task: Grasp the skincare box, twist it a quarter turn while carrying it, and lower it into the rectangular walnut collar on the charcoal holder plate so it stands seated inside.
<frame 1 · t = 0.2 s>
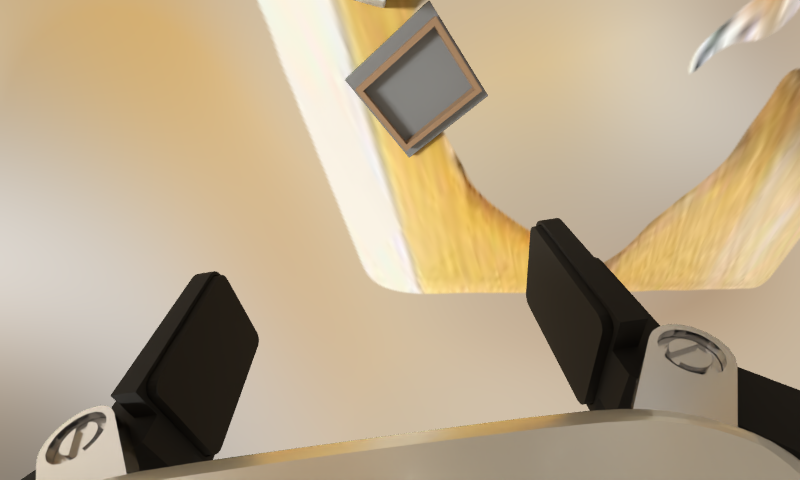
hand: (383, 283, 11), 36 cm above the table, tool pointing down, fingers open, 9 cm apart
holder: (417, 86, 42), on the table
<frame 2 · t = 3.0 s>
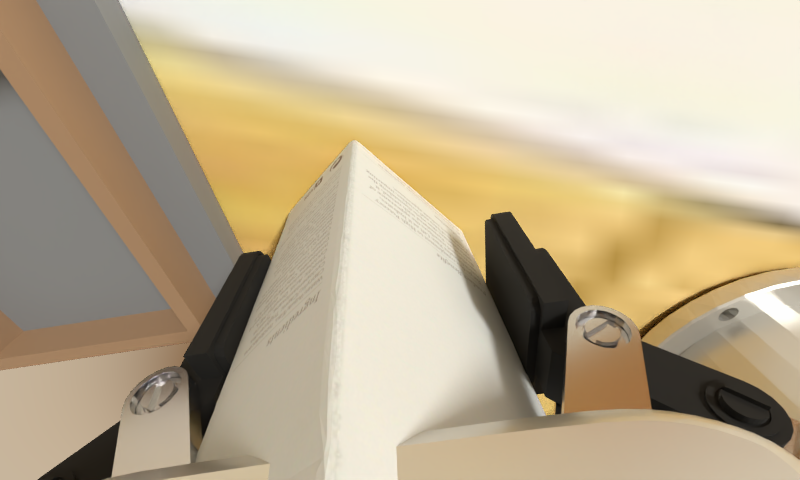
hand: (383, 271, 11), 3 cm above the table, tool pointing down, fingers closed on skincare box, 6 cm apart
skincare box: (383, 218, 14), on the table, touching gripper
holder: (48, 202, 13), on the table
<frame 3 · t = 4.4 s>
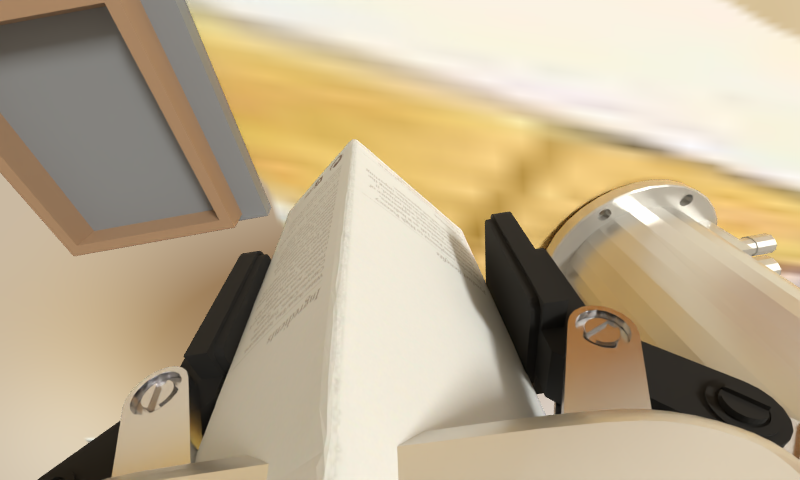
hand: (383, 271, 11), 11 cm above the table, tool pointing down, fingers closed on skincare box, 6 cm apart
skincare box: (383, 217, 14), point 7 cm above the table, touching gripper
holder: (118, 129, 18), on the table
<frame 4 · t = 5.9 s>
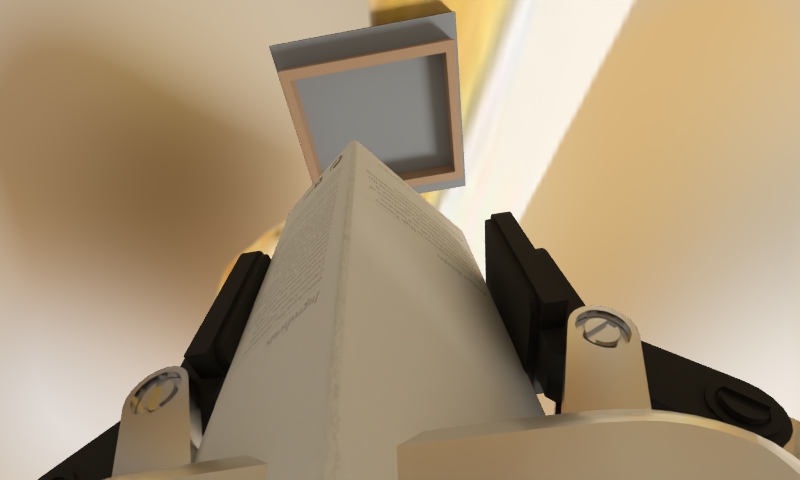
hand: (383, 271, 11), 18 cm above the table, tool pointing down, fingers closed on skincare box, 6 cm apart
skincare box: (383, 218, 14), point 14 cm above the table, touching gripper
holder: (379, 120, 26), on the table
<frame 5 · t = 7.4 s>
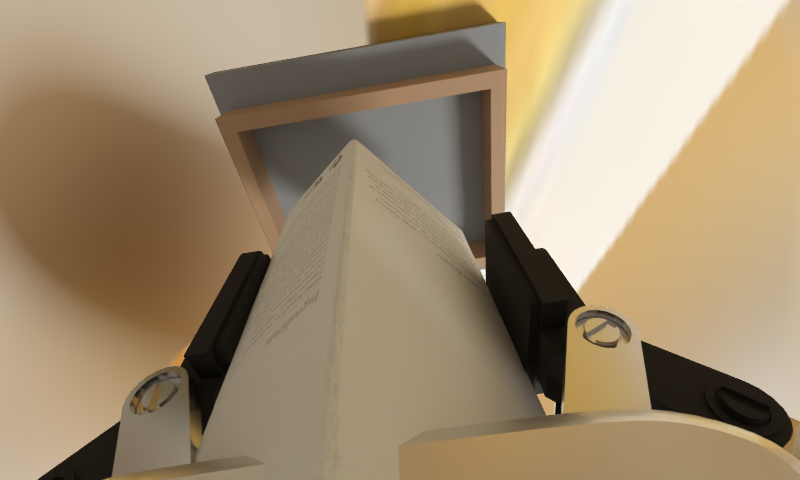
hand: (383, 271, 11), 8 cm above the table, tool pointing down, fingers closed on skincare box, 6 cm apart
skincare box: (383, 218, 14), point 4 cm above the table, touching gripper
holder: (380, 180, 18), on the table
when the fingers open (5 cm above the table, at t = 8.7 s): skincare box drops 1 cm, resting on holder.
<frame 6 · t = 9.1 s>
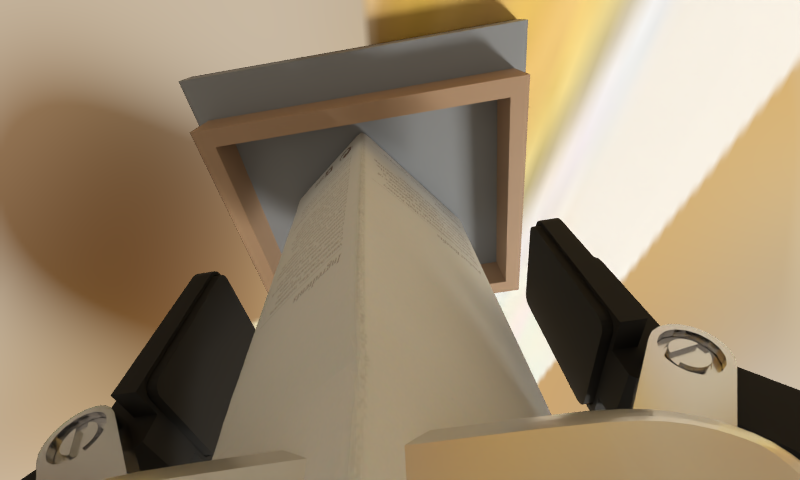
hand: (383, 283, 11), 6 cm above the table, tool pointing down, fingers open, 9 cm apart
skincare box: (387, 207, 15), point 1 cm above the table, touching holder
holder: (381, 196, 16), on the table
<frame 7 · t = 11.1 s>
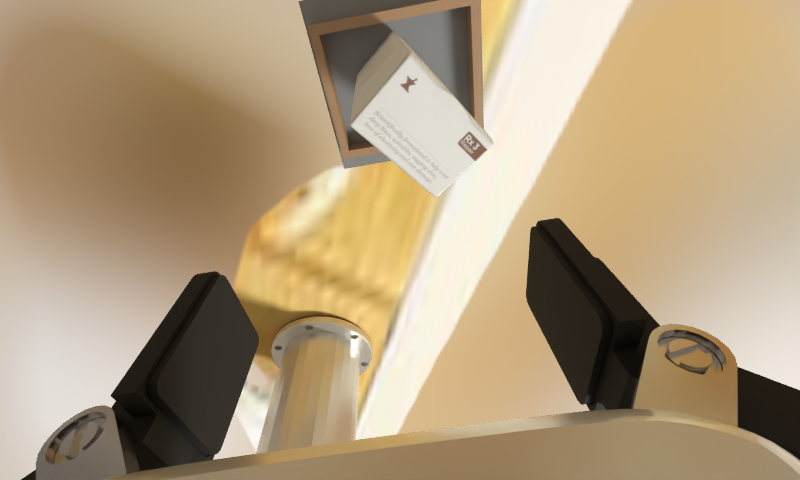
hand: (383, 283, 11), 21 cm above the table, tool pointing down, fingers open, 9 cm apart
skincare box: (405, 82, 26), point 1 cm above the table, touching holder
holder: (401, 78, 27), on the table
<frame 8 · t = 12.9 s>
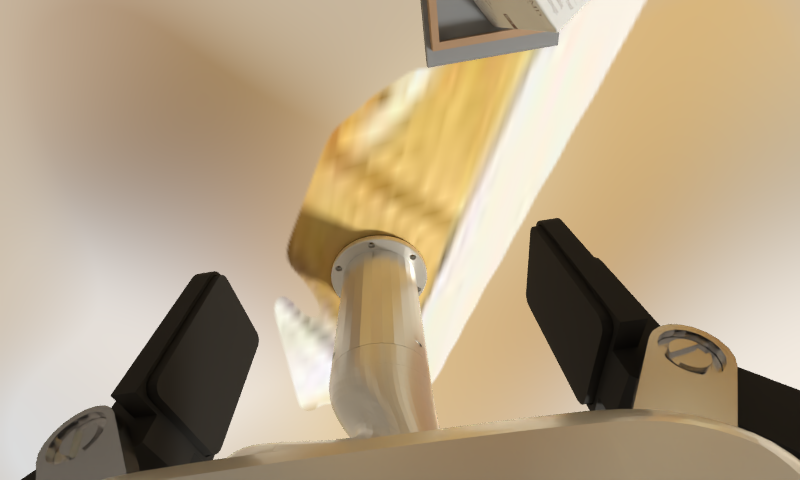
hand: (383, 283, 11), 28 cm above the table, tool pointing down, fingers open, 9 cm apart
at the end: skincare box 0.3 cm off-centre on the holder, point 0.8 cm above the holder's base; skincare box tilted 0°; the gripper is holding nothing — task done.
